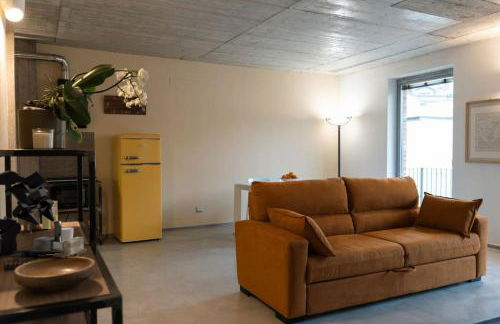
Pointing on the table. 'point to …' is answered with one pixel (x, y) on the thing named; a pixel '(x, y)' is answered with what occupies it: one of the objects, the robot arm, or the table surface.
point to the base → (70, 248)
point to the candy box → (47, 223)
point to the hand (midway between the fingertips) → (46, 222)
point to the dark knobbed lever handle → (57, 236)
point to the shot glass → (67, 233)
